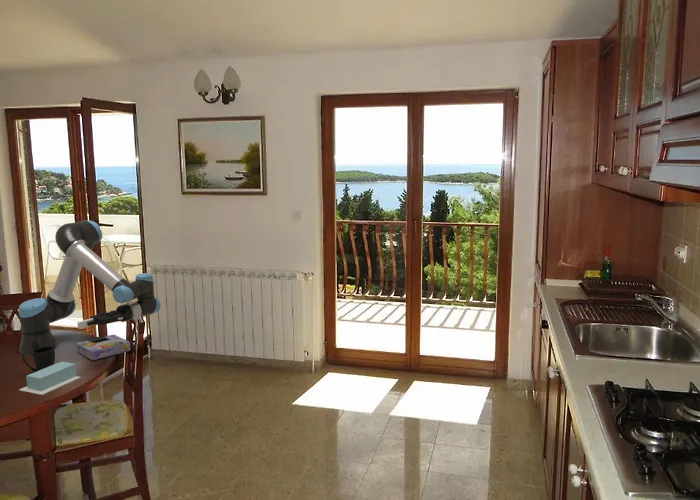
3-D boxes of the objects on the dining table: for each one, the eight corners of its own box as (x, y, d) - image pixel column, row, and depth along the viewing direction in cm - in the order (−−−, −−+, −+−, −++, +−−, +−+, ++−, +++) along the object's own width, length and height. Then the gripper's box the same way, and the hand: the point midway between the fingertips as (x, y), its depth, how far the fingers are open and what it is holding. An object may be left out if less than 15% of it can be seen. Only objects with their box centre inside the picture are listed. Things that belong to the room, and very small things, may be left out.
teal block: (62, 372, 229) (27, 387, 214) (61, 361, 228) (26, 375, 214) (77, 375, 226) (42, 390, 211) (75, 363, 225) (40, 378, 211)
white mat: (19, 390, 213) (18, 389, 213) (58, 373, 229) (58, 373, 229) (42, 395, 208) (41, 394, 208) (80, 377, 224) (80, 376, 224)
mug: (23, 372, 232) (20, 350, 230) (55, 365, 238) (52, 344, 237) (25, 378, 225) (22, 356, 224) (58, 371, 232) (55, 350, 230)
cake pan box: (75, 341, 255) (114, 333, 267) (76, 351, 256) (115, 343, 268) (90, 350, 241) (130, 341, 253) (91, 361, 242) (131, 352, 254)
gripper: (138, 322, 246) (88, 336, 226) (119, 317, 253) (70, 331, 233) (136, 306, 245) (87, 319, 225) (118, 301, 252) (68, 314, 232)
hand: (78, 325), depth 229 cm, fingers closed
